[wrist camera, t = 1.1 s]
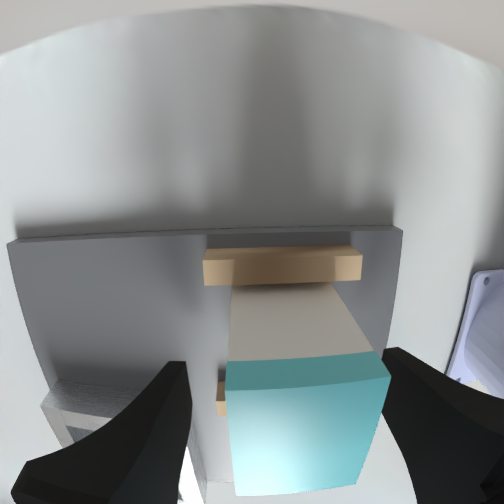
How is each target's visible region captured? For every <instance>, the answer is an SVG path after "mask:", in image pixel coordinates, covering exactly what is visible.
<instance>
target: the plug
mask: <svg viewBox="0 0 504 504" xmlns="http://www.w3.org/2000/svg"><path fill="white" fill-rule="evenodd" d="M390 380H391V375H390V373H389V371H388V370H387V368H386V367H385V365H384V363H383V362H382V360H381V359H380V357H379V355H378V354H377V352H376V351H374V349H373V348H372V346H371V345H370V343H369V341H368V340H367V338H366V337H365V335H364V334H363V332H362V330H361V329H360V327H359V326H358V324H357V323H356V321H355V320H354V318H353V316H352V315H351V313H350V312H349V310H348V309H347V307H346V306H345V304H344V303H343V301H342V300H341V298H340V297H339V295H338V294H337V292H336V291H335V289H334V288H333V286H332V285H331V283H330V282H309V283H284V284H255V285H232V297H231V312H230V328H229V344H228V360H227V363H226V379H225V398H226V409H227V419H228V428H229V438H230V447H231V456H232V465H233V473H234V482H235V490H236V496H255V495H275V494H288V493H298V492H307V491H315V490H323V489H330V488H336V487H342V486H348V485H353V484H356V482H357V480H358V477H359V475H360V472H361V470H362V467H363V464H364V462H365V459H366V456H367V454H368V451H369V448H370V445H371V442H372V439H373V436H374V433H375V430H376V427H377V424H378V421H379V418H380V415H381V412H382V408H383V405H384V401H385V398H386V394H387V391H388V387H389V384H390Z"/></svg>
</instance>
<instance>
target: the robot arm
mask: <svg viewBox="0 0 504 504" xmlns="http://www.w3.org/2000/svg"><path fill="white" fill-rule="evenodd" d="M485 278H486V280H485ZM484 280H485V281H484ZM381 360H382V362H383V363H384V365H385V367H386V368H387V370H388V371H389V373H390V375H391V380H390V384H389V387H388V391H387V394H386V398H385V401H384V405H383V408H382V414H383V416H384V418H385V420H386V422H387V424H388V426H389V428H390V430H391V432H392V434H393V436H394V438H395V440H396V442H397V444H398V446H399V448H400V450H401V452H402V455H403V457H404V459H405V462H406V465H407V468H408V471H409V474H410V477H411V480H412V484H413V488H414V491H415V495H416V499H417V503H418V504H504V269H498V270H487V271H478V272H476V273H475V274H474V276H473V278H472V281H471V286H470V291H469V295H468V300H467V304H466V308H465V313H464V317H463V320H462V324H461V328H460V332H459V335H458V339H457V342H456V346H455V349H454V352H453V356H452V359H451V362H450V365H449V368H448V371H447V374H446V375H445V374H443V373H441V372H439V371H438V370H436V369H434V368H433V367H431V366H429V365H428V364H426V363H424V362H423V361H421V360H419V359H418V358H416V357H415V356H413V355H411V354H410V353H408V352H406V351H405V350H403V349H401V348H399V347H394V348H387V349H384V350H383V354H382V359H381ZM475 380H479V381H480V383H481V384H482V385H483V386H484V387H485V388H486V389H487V391H488V392H489V393H490V394H491V395H489V394H486V393H483V392H480V391H478V390H475V389H473V388H470V387H468V386H466V385H464V384H465V383H468V382H472V381H475ZM192 406H193V401H192V396H191V390H190V384H189V378H188V372H187V365H186V361H168V362H167V363H166V364H165V366H164V367H163V368H162V369H161V370H160V372H159V373H158V374H157V375H156V376H155V377H154V379H153V380H152V381H151V382H150V383H149V384H148V385H147V386H146V387H145V389H144V390H143V391H142V392H141V393H140V394H139V395H138V396H137V397H136V398H135V399H134V400H133V401H132V402H131V403H130V404H129V405H128V406H127V407H125V408H124V409H123V410H122V411H121V412H120V413H119V414H118V415H116V416H115V417H114V418H113V419H111V420H110V421H109V422H107V423H106V424H105V425H103V426H102V427H100V428H99V429H97V430H96V431H94V432H92V433H91V434H89V435H88V436H86V437H84V438H83V439H81V440H79V441H77V442H75V443H73V444H71V445H69V446H67V447H65V448H63V449H61V450H58V451H56V452H53V453H51V454H48V455H45V456H42V457H39V458H36V459H33V460H30V461H27V462H26V463H25V465H24V467H23V469H22V470H21V472H20V474H19V476H18V478H17V480H16V482H15V484H14V486H13V488H12V490H11V495H12V498H13V500H14V502H15V503H16V504H177V503H178V490H179V481H180V475H181V470H182V465H183V460H184V456H185V451H186V447H187V442H188V437H189V433H190V428H191V419H192Z"/></svg>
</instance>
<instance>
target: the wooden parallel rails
mask: <svg viewBox="0 0 504 504" xmlns="http://www.w3.org/2000/svg"><path fill="white" fill-rule="evenodd" d="M362 258H363V255H362V254H360V253H359V252H358V251H357V250H356V249H355V248H354V247H352V246H351V245H330V246H292V247H255V248H220V249H207V250H206V252H205V255H204V258H203V273H204V286H218V285H255V284H284V283H309V282H331V281H351V280H361V269H362ZM216 407H217V415H218V416H227V409H226V398H225V382H218V383H217V394H216Z"/></svg>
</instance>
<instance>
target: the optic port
mask: <svg viewBox="0 0 504 504" xmlns="http://www.w3.org/2000/svg"><path fill="white" fill-rule="evenodd" d="M143 390H144V389H142V388H129V387H118V386H108V385H99V384H91V383H83V382H76V381H69V380H62V379H58V380H57V381H56V383H55V384H54V385H53V387H52V388H51V390H50V391H49V393H48V394H47V396H46V397H45V399H44V400H43V402H42V403H41V404H40V406H41V409H42V411H43V413H44V415H45V416H46V418H47V420H48V422H49V424H50V426H51V428H52V430H53V432H54V433H55V435H56V437H57V439H58V441H59V442H60V444H61V446H62V447H63V448H65V447H67V446H69V445H71V444H73V443H75V442H77V441H79V440H81V439H83V438H84V437H86V436H88V435H89V434H91V433H92V432H94V431H96V430H97V429H99V428H100V427H102V426H103V425H105V424H106V423H107V422H109V421H110V420H111V419H113V418H114V417H115V416H116V415H118V414H119V413H120V412H121V411H122V410H123V409H124V408H125V407H127V406H128V405H129V404H130V403H131V402H132V401H133V400H134V399H135V398H136V397H137V396H138V395H139V394H140V393H141V392H142V391H143ZM206 490H207V479H206V474H205V470H204V466H203V461H202V457H201V452H200V448H199V443H198V438H197V433H196V428H195V423H194V418H193V413H192V419H191V428H190V433H189V437H188V442H187V447H186V451H185V456H184V460H183V465H182V470H181V475H180V481H179V490H178V503H177V504H205V503H206Z"/></svg>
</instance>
